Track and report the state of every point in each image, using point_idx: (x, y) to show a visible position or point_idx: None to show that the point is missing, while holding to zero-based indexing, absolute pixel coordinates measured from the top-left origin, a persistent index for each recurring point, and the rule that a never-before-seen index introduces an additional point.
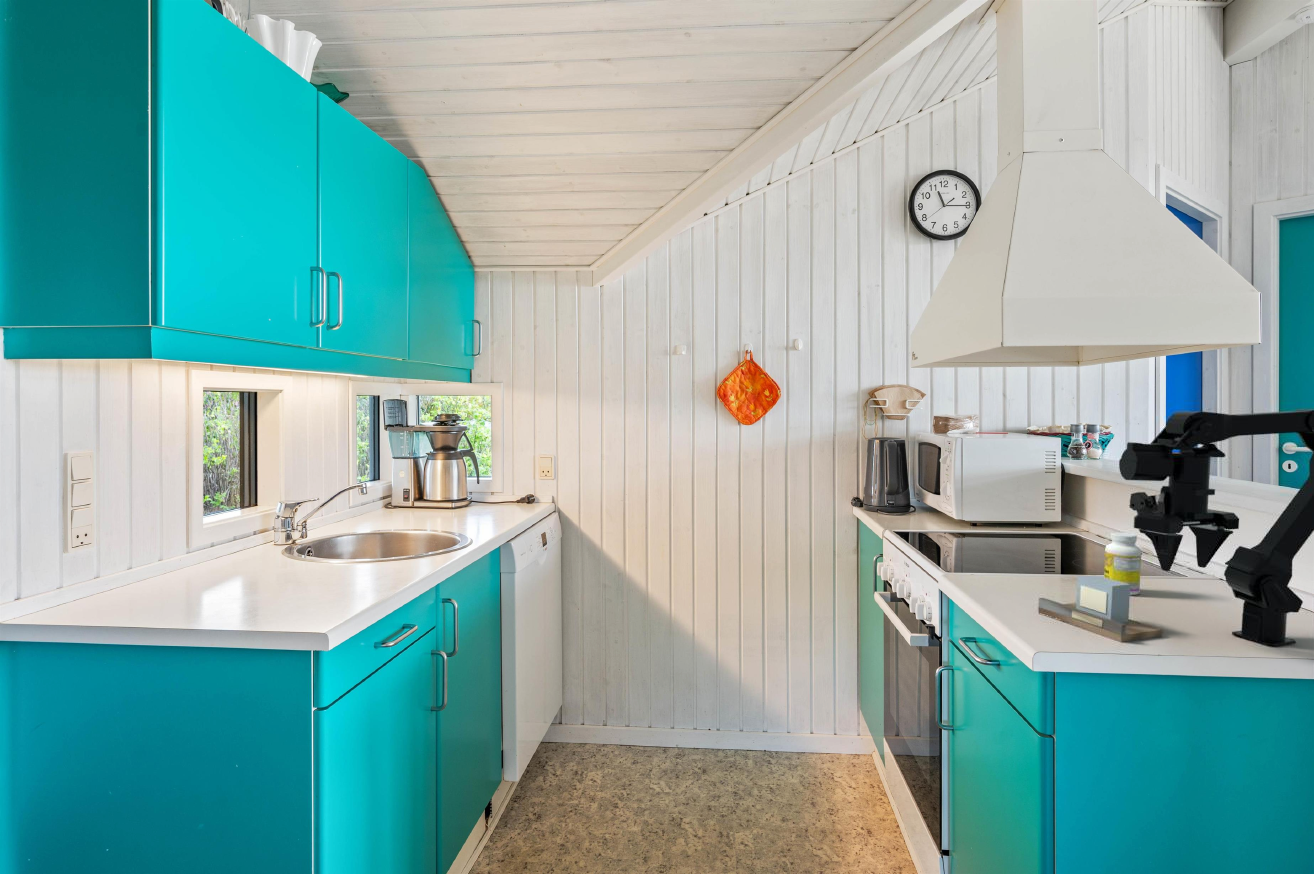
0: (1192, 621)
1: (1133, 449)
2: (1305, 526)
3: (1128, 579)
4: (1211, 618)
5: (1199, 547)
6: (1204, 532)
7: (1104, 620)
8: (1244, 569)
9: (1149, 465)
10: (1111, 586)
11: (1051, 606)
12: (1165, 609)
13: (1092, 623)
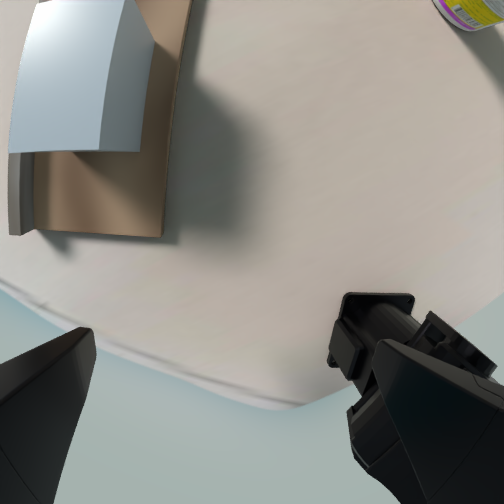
0: (383, 190)
1: None
2: None
3: (466, 4)
4: (440, 199)
5: (441, 401)
6: (501, 478)
7: (9, 183)
8: (389, 454)
9: None
10: (8, 149)
11: None
12: (423, 106)
13: None
